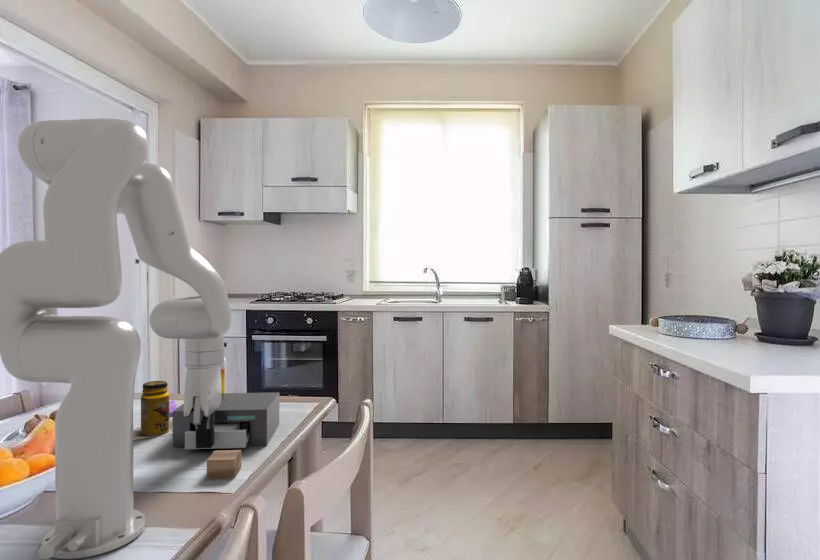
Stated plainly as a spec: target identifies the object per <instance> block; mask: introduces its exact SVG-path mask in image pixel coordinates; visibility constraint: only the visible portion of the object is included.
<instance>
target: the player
mask: <svg viewBox="0 0 820 560" xmlns="http://www.w3.org/2000/svg"><path fill="white" fill-rule="evenodd" d="M193 418H194V413H193V414H192V415H191V416H189V417H185V416H184V403H182V404H181V405H179V406H177V409H175V410H174V411H173V416H172V433H173V434H172V449H185V432H186V431H196V429H195V425H193ZM214 422H250V440H249V441H248V442H247V444H246V447H266V446H268V445H269V443H270V441H271V439H272V437H273V436H274V434H275V432H276V431H277V429H278V427H279V425H280V392H226V393H222V394H221V404H220V406H219V407H218V408H217V409H216V410H215V419H214Z"/></svg>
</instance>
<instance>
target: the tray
mask: <svg viewBox="0 0 820 560" xmlns="http://www.w3.org/2000/svg"><path fill="white" fill-rule="evenodd" d="M249 440H250V422H240V430H218V431H214V445H213V446H212V447H211V448H196V431H186V432H185V448H184V450H202V449H203V450H206V449H209V450H210V449H212V450H213V449H244V448H246V447H247V446H246V444H247V442H248V441H249Z"/></svg>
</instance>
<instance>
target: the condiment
mask: <svg viewBox="0 0 820 560" xmlns="http://www.w3.org/2000/svg"><path fill="white" fill-rule="evenodd" d="M141 391H142V394H141V396H140V429H138V430H137V429H133V441H135V440H143V439H147V438H148V439H150V438H157V437H164V436H170V435H173V430H171V428H170V417H169V401H170V393H169V392H168V382H167V381H166V380H152V381H147V382H144V383H143V384H142V390H141ZM154 436H155V437H154Z"/></svg>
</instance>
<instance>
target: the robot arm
mask: <svg viewBox="0 0 820 560" xmlns="http://www.w3.org/2000/svg"><path fill="white" fill-rule="evenodd" d="M147 137H148V136H147V134H146V131H144V129H143V128H142V127H141V126H140V125H138V124H136V123H135V122H132V121H129V120H126V119H119V118H81V119H80V118H79V119H50V120H39V121H35V122H32V123H30V124H29V125H27V126H25V127H24V128H23V130H21V132H20V135H19V137H18V139H17V140H18V141H17V148H18V151H19V156H20V158H21V161H22V162H23V163H24V165H25V167H26V168H27V169H28V170H29V171H30V172H31V173H32V174H33V175H34V176H35V177H37V178H38V179H39V180H40V181H41V182H43V183H45V184H46V185H47V186H48V188H47V189H46V192H45V194H44V198H43V206H42V208H43V209H42V210H43V211H42V212H43V213H42V214H43V227H44V229H43V230H44V240H26V241H19V242H15V243H13V244H10V245H9V246H7V247H6V248H4V249H3V250H1V251H0V359H1V363H2V364H3V366H4V368H5V369H6V371H7V372H8V373H9V374H10V375H11V376H12V377H14V378H15V379H17V380H20V381H24V382H27V383H50V384H51V383H52V384H54V383H55V384H56V383H57V384H58V383H59V384H68V385H69V384H70V389H69V390H68V392H67V394H66V396H64V399H63V400H62V402H61V403H60V405H59V407H58V409H57V410H56V414H55V418H54V419H55V420H54V445H55V446H54V449H55V451H54V457H55V458H54V459H55V462H54V463H55V465H54V467H55V469H54V470H55V471H54V473H55V482H54V483H55V485H54V486H55V521H54V526H53V527H52V528H51V529H50V530H48V531H47V533H45V535H44V536H43V537H42V540H41V546H39V548H38V552H37V554H38V555H39V557H40V558H41V559H43V560H49V559H51V558H54V559H59V560H75V559H78V560H79V559H83V558H89V557H95V556H99V555H102V554H105V553H109V552H111V551H113V550H116V549H118V548H122V547H123V546H125V545H128V543H131V542H132V541H133V540H135V539H136V538H137V537H138V536H140V535H141V534H142V533H143V531H144V529H145V528H146V516H145V514H144V513H142V511H139V510H137V509H135V508H134V503H135V502H134V496H135V495H134V440H133V430H134V395H135V392H134V391H135V383H136V377H137V370H138V365H139V362H140V356H141V349H142V348H141V347H142V345H141V344H142V341H141V337H140V335H139V333H138V331H137V328H136V327H134V326H133V325H132V324H131V323H129V322H127V321H126V320H123V319H120V318H118V317H117V318H116V317H113V316H106V315H105V316H103V315H102V316H101V315H72V316H71V315H70V316H68V315H66V316H65V315H59V313H58V309H92V308H100V307H104V306H105V307H106V306H108V305H110V304H112V303H114V302H115V301H116V300H117V299H118V297H119V296H120V294H121V291H122V286H123V279H122V277H123V274H122V263H121V262H122V261H121V252H120V240H119V239H120V238H119V231H118V219H117V214H118V215H119V214H122V215H124V217H125V220H126V222H127V225H128V229H129V233H130V235H131V237H132V241H133V244H134V247H135V250H136V254H137V256H138V259H139V260H141V262H142V263H144V264H146V265H148V266H150V267H152V268H154V269H156V270H158V271H161V272H163V273H165V274H167V275H169V276H173V277H174V278H177V279H179V280H181V281H182V282H184V283H185V284H187V285H188V286H190V287H191V288H192V289H193V290H194V291H195V292H196V293H197V295H198V296H199V297H200V298H190V299H189V298H188V299H166V300H162V301H161V302H159V303H157V304H156V305H155V306H154V308H152V310H151V312H150V315H149V326H150V328H151V330H152V332H153V333H154V334H156V335H157V336H158V337H161V338H163V339H170V340H171V339H172V340H173V339H174V340H175V339H177V340H184V368H186V373H185V380H184V381H185V382H184V392H183V393H184V395H183V396H184V397H183V404H184V416H185V417H189V416H191V415H192V414H193V413H194V418H193V425H195V429H196V448H211V447H212V446H213V445H214V419H215V410H216V409H217V408H218V407H219V406H220V404H221V394H222V390H221V369H220V366H222V365H224V357H225V336H226V334H227V333H228V332H229V330H230V328H231V324H232V312H231V310H232V309H231V304H230V301H229V295H228V291H227V287H226V285H225V283H224V281H223V278H222V277H221V275H220V274H219V273H218V272H217V270H216V269H215V268H214V266H212V265H211V264H210V262H208V260H207V259H206V258H204V257H203V255H201V254H200V253H198V252H197V251H196V250H195V249H193V247H192V246H191V244H190V242H189V239H188V234H187V231H186V227H185V223H184V221H183V216H182V213H181V208H180V205H179V201H178V197H177V194H176V189H175V186H174V183H173V180H172V178H171V177H172V176H171V175H170V173H169V172H168V171H167V170H166V169H165V168H163V166H160V165H157V164H155V163H149V162H146V159H147V156H148V152H149V142H148V141H149V140H148V138H147Z"/></svg>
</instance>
